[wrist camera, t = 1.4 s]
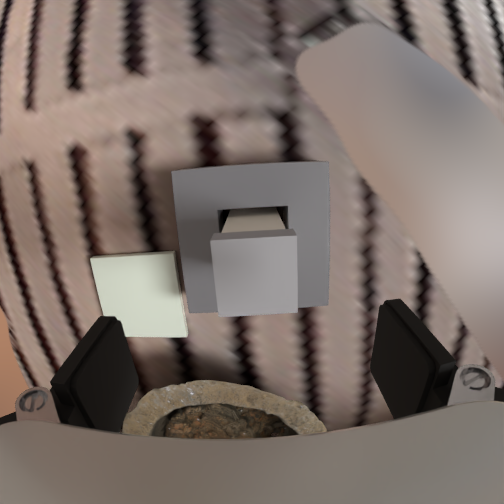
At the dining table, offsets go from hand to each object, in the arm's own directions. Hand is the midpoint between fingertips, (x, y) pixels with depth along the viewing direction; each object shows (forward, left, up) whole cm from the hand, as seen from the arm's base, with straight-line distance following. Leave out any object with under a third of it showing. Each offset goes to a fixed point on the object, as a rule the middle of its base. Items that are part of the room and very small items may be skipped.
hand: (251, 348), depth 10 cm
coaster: (+12, +6, -19) cm, 23 cm away
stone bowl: (+5, +25, -19) cm, 32 cm away
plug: (0, 0, -19) cm, 19 cm away
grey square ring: (0, 0, -19) cm, 19 cm away
